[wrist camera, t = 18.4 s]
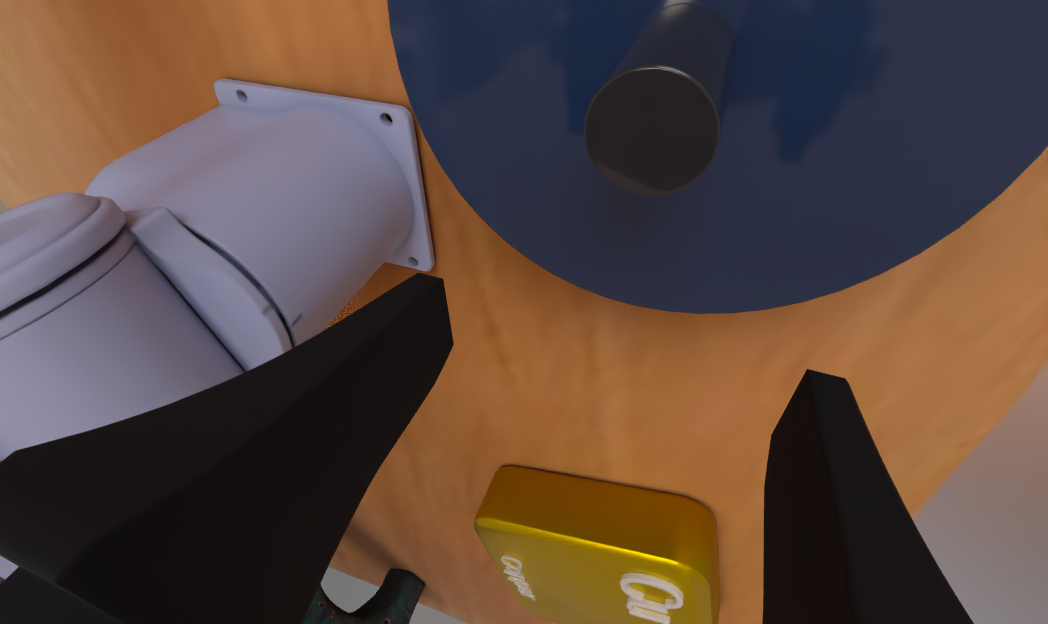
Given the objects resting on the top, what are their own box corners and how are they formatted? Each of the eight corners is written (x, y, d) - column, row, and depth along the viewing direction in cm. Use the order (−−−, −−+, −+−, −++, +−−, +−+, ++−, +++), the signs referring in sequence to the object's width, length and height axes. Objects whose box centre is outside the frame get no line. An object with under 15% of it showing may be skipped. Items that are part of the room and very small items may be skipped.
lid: (440, 241, 20) (367, 332, 16) (345, -449, 10) (90, -597, 6) (887, 340, 16) (914, 485, 13) (1550, -631, 6) (2740, -1320, 2)
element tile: (489, 458, 37) (460, 521, 34) (716, 499, 31) (707, 581, 27) (538, 561, 46) (518, 618, 43) (721, 608, 40) (715, 680, 36)
